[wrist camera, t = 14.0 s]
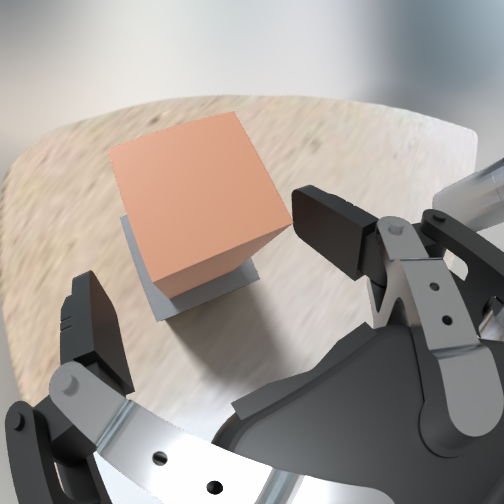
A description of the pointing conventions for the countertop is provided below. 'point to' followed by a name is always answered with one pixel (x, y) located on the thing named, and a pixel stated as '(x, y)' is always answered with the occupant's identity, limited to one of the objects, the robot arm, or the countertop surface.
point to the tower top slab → (193, 297)
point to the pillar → (197, 200)
